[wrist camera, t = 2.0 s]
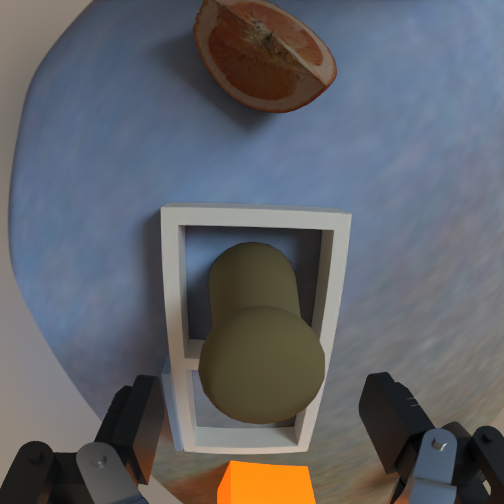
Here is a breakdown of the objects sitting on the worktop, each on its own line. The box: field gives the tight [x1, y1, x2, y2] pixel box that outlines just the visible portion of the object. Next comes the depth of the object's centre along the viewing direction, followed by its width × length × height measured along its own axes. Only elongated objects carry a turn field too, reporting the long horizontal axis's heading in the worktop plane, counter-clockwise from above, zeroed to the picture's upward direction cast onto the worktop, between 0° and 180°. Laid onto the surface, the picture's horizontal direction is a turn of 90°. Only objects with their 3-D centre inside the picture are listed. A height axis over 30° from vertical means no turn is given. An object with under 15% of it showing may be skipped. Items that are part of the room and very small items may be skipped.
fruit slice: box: [193, 0, 337, 113], centre depth 14 cm, size 8×7×5 cm
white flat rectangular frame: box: [161, 202, 352, 454], centre depth 21 cm, size 21×12×3 cm, turn 178°
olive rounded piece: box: [198, 242, 325, 424], centre depth 16 cm, size 6×6×11 cm
